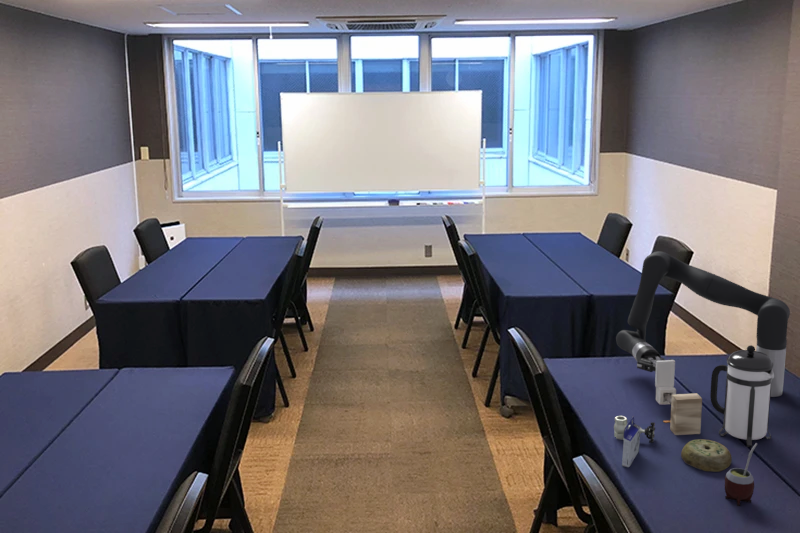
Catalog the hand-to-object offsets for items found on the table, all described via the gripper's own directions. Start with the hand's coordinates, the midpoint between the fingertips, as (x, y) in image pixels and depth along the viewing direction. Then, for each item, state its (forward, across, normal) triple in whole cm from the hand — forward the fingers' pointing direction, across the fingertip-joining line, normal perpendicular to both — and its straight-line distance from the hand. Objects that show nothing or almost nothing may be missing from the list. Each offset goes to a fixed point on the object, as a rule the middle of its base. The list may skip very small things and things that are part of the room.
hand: (664, 373), depth 247 cm
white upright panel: (+2, 0, +10) cm, 10 cm away
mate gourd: (+58, -2, +13) cm, 59 cm away
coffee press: (+23, +16, +13) cm, 31 cm away
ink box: (+34, -22, +13) cm, 42 cm away
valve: (+22, -18, +13) cm, 31 cm away
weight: (+37, -2, +13) cm, 40 cm away
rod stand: (+10, 0, +12) cm, 16 cm away
